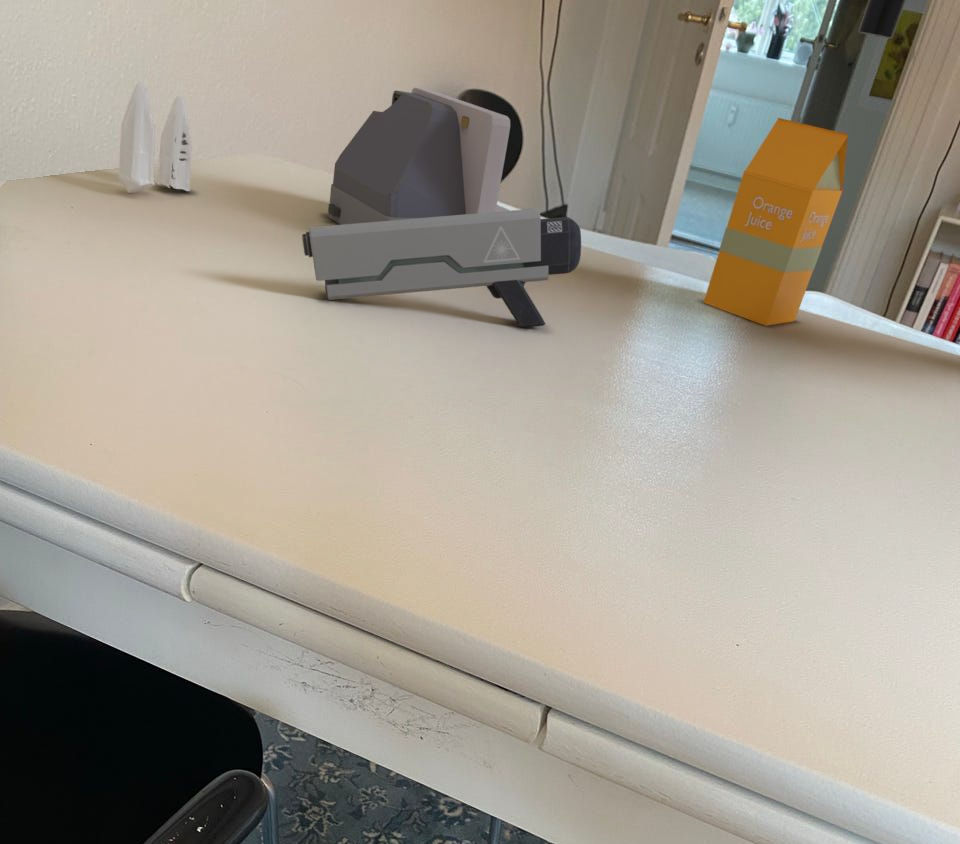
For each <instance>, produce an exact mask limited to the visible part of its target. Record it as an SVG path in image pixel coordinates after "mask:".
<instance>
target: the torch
mask: <svg viewBox="0 0 960 844" xmlns="http://www.w3.org/2000/svg"><path fill="white" fill-rule="evenodd" d="M906 1H907V0H868V2H867V4H866V7H865V10H864V13H863V16H862V19H861V22H860V25H859V27H858V30H857V31H858V33H860V34H863V35H868V36H871V37H877V38H883V39H893V37H894V34H895V31H896V29H897V26H898V23H899V20H900V18H901V15H902V12H903V9H904V6H905V4H906Z"/></svg>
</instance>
